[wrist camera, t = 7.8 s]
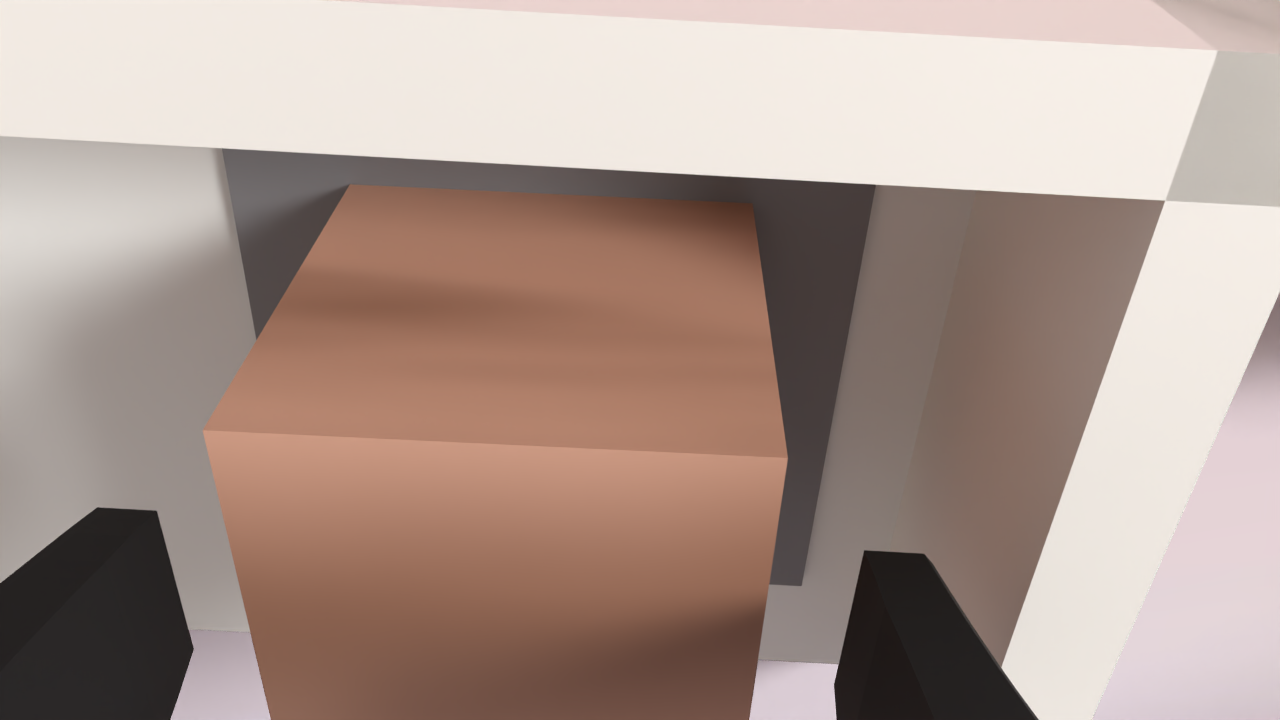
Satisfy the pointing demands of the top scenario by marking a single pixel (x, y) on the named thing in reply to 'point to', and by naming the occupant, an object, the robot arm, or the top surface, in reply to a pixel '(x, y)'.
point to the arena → (697, 171)
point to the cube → (509, 462)
